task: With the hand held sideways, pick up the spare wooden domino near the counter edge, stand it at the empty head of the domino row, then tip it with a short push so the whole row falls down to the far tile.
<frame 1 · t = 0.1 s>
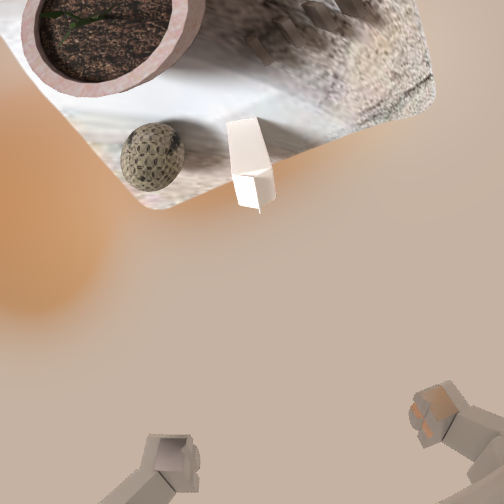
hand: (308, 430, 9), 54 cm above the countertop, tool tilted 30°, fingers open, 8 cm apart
milk: (243, 131, 57), on the countertop
domino 2: (339, 1, 37), on the countertop
plant pot: (137, 8, 35), on the countertop
decorative egg: (158, 137, 56), on the countertop
domino 5: (254, 44, 44), on the countertop
domino 4: (283, 28, 41), on the countertop
domino 3: (312, 13, 39), on the countertop
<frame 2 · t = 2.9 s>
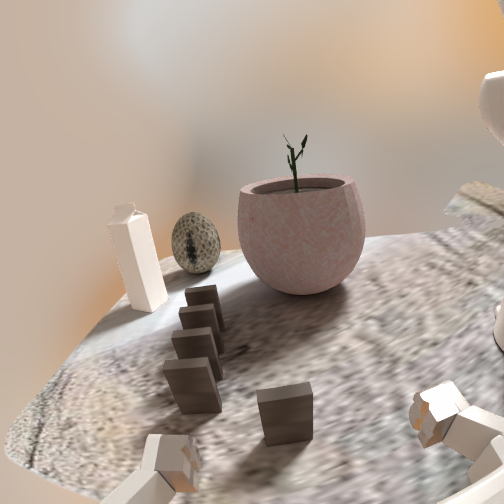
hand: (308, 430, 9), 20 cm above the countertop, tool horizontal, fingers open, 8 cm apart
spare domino: (288, 437, 28), on the countertop
milk: (150, 305, 62), on the countertop
domino 2: (202, 408, 34), on the countertop
plant pot: (306, 285, 61), on the countertop
decorative egg: (201, 272, 75), on the countertop
domino 5: (210, 329, 51), on the countertop
domino 4: (207, 351, 45), on the countertop
domino 3: (205, 377, 39), on the countertop
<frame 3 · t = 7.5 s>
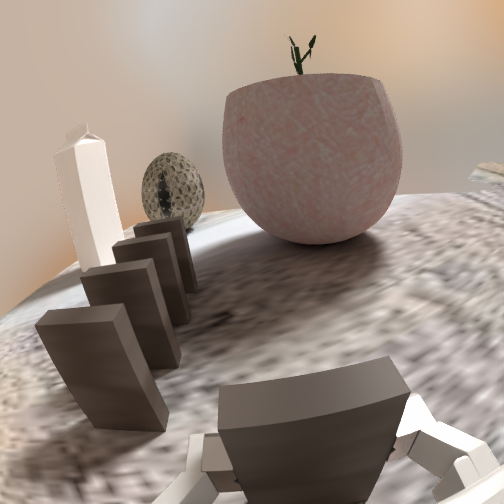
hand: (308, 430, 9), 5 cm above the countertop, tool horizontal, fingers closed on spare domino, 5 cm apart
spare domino: (311, 499, 10), on the countertop, touching gripper
milk: (106, 267, 44), on the countertop
domino 2: (130, 421, 16), on the countertop
plant pot: (321, 238, 43), on the countertop
decorative egg: (180, 231, 57), on the countertop
domino 5: (174, 291, 32), on the countertop
domino 4: (163, 321, 27), on the countertop
domino 3: (149, 362, 21), on the countertop
when the fingers open (6 cm above the countertop, at t = 13.1 s): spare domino stays where it is, on the countertop.
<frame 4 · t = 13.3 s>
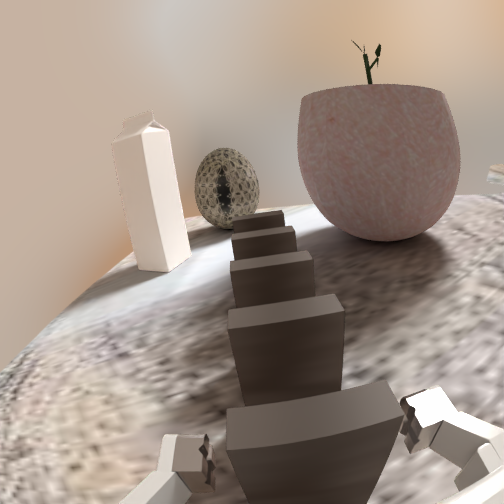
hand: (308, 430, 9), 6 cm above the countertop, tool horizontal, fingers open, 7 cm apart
milk: (165, 264, 44), on the countertop
domino 2: (294, 420, 16), on the countertop
plant pot: (383, 235, 43), on the countertop
decorative egg: (232, 228, 57), on the countertop
domino 5: (266, 287, 33), on the countertop
domino 4: (273, 316, 27), on the countertop
domino 3: (281, 359, 22), on the countertop
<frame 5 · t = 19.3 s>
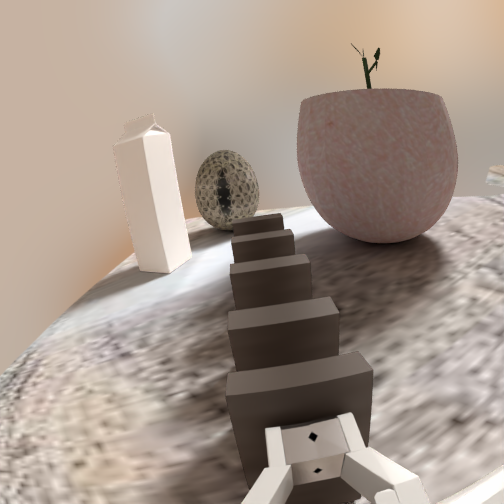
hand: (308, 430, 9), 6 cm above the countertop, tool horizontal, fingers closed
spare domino: (307, 499, 11), on the countertop, tilted 14°
milk: (166, 265, 45), on the countertop
domino 2: (291, 418, 16), on the countertop
plant pot: (381, 237, 44), on the countertop
decorative egg: (232, 230, 58), on the countertop
domino 5: (266, 288, 33), on the countertop
domino 4: (272, 317, 28), on the countertop
domino 3: (280, 359, 22), on the countertop
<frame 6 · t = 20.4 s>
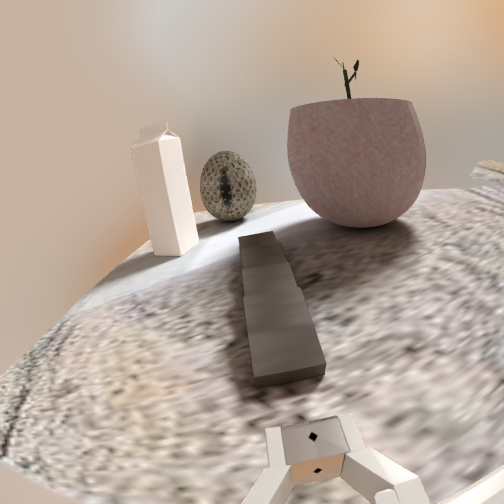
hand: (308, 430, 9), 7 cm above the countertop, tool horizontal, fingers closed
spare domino: (290, 376, 20), point 1 cm above the countertop, tilted 75°, touching domino 2
milk: (177, 250, 52), on the countertop
domino 2: (279, 329, 25), point 1 cm above the countertop, tilted 75°, touching domino 3, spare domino
plant pot: (362, 223, 52), on the countertop
decorative egg: (233, 221, 66), on the countertop
domino 4: (264, 270, 37), point 1 cm above the countertop, tilted 79°, touching domino 3
domino 3: (271, 295, 31), point 1 cm above the countertop, tilted 75°, touching domino 2, domino 4
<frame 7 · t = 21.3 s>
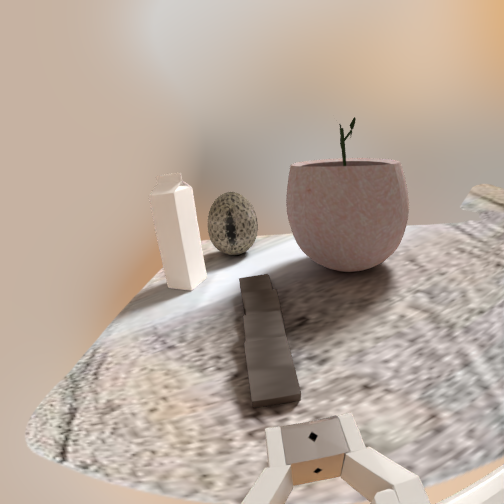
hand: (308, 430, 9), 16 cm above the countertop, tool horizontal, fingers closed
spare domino: (276, 401, 28), point 1 cm above the countertop, tilted 75°, touching domino 2
milk: (188, 283, 61), on the countertop
domino 2: (270, 364, 34), point 1 cm above the countertop, tilted 75°, touching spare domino
plant pot: (349, 265, 60), on the countertop
decorative egg: (236, 254, 74), on the countertop
domino 4: (260, 309, 46), point 1 cm above the countertop, tilted 79°, touching domino 3, domino 5
domino 3: (266, 333, 40), point 1 cm above the countertop, tilted 76°, touching domino 4
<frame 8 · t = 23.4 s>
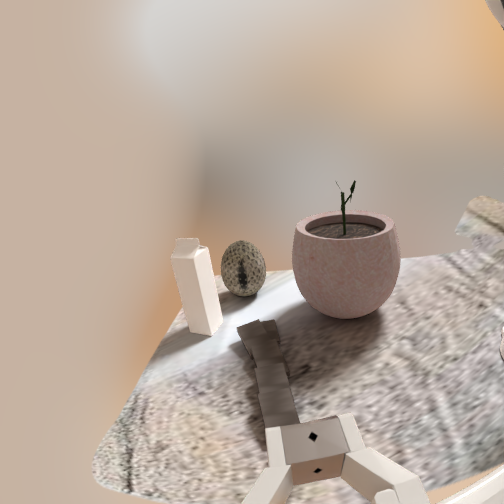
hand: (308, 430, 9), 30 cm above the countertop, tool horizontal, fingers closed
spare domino: (285, 437, 37), point 1 cm above the countertop, tilted 76°, touching domino 2
milk: (207, 327, 69), on the countertop
domino 2: (278, 406, 43), point 1 cm above the countertop, tilted 76°, touching domino 3, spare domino
plant pot: (346, 308, 68), on the countertop
decorative egg: (247, 294, 82), on the countertop
domino 5: (268, 345, 60), on the countertop, tilted 90°, touching domino 4
domino 4: (263, 352, 57), point 1 cm above the countertop, tilted 77°, touching domino 3, domino 5
domino 3: (275, 377, 50), point 1 cm above the countertop, tilted 76°, touching domino 2, domino 4
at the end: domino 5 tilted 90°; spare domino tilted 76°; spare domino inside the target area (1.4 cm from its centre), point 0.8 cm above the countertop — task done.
